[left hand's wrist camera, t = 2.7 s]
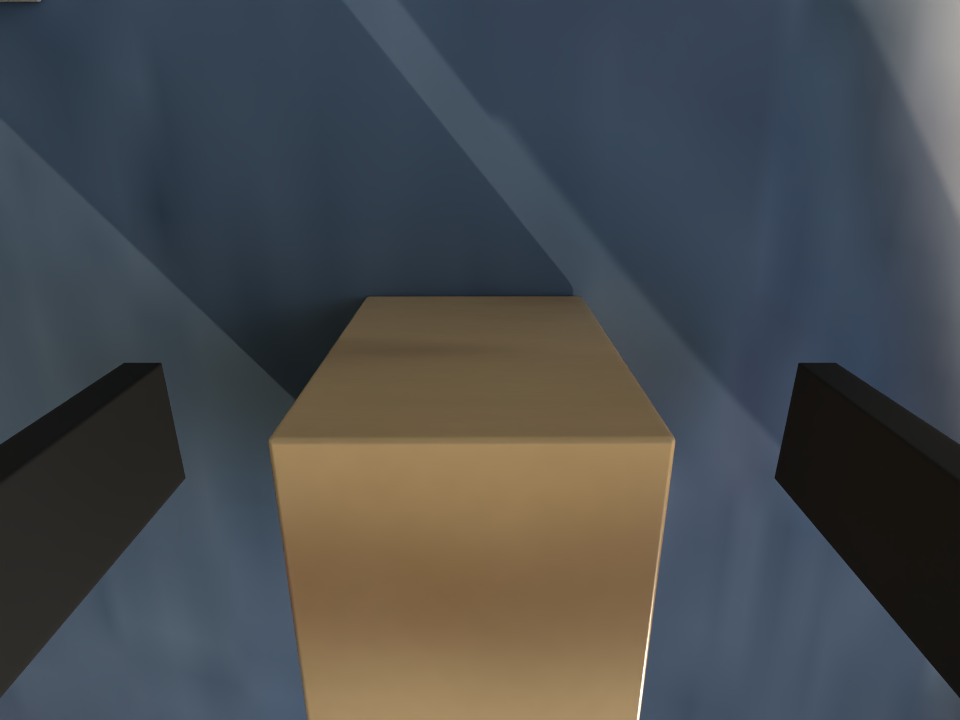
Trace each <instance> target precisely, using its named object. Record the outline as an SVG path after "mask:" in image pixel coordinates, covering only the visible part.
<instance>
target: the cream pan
mask: <svg viewBox="0 0 960 720" xmlns="http://www.w3.org/2000/svg"><path fill="white" fill-rule="evenodd" d="M39 1H41V0H0V2H39Z"/></svg>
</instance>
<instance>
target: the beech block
mask: <svg viewBox="0 0 960 720" xmlns="http://www.w3.org/2000/svg"><path fill="white" fill-rule="evenodd" d="M268 443H269V450H270V457H271V464H272V472H273V479H274V486H275V493H276V500H277V507H278V514H279V522H280V529H281V536H282V543H283V550H284V557H285V564H286V572H287V579H288V586H289V593H290V600H291V607H292V614H293V622H294V629H295V636H296V643H297V650H298V657H299V664H300V672H301V679H302V686H303V693H304V700H305V707H306V714H307V720H639V719H640V711H641V703H642V696H643V688H644V680H645V672H646V665H647V657H648V649H649V641H650V634H651V626H652V618H653V610H654V603H655V595H656V587H657V579H658V572H659V564H660V556H661V548H662V541H663V533H664V525H665V517H666V510H667V502H668V494H669V486H670V479H671V471H672V463H673V455H674V448H675V439H674V436H673V435H672V433H671V432H670V430H669V429H668V427H667V426H666V424H665V423H664V421H663V420H662V418H661V417H660V415H659V414H658V412H657V411H656V409H655V408H654V406H653V405H652V403H651V401H650V400H649V398H648V397H647V395H646V394H645V392H644V391H643V389H642V388H641V386H640V385H639V383H638V382H637V380H636V379H635V377H634V376H633V374H632V373H631V371H630V370H629V368H628V367H627V365H626V364H625V362H624V361H623V359H622V358H621V356H620V354H619V353H618V351H617V350H616V348H615V347H614V345H613V344H612V342H611V341H610V339H609V338H608V336H607V335H606V333H605V332H604V330H603V329H602V327H601V326H600V324H599V323H598V321H597V320H596V318H595V317H594V315H593V314H592V312H591V310H590V309H589V307H588V306H587V304H586V303H585V301H584V300H583V298H582V297H580V296H395V297H367V298H366V299H365V301H364V302H363V303H362V305H361V306H360V308H359V309H358V311H357V312H356V314H355V315H354V317H353V318H352V319H351V321H350V322H349V324H348V325H347V327H346V328H345V330H344V331H343V332H342V334H341V335H340V337H339V338H338V340H337V341H336V343H335V344H334V346H333V347H332V348H331V350H330V351H329V353H328V354H327V356H326V357H325V359H324V360H323V362H322V363H321V364H320V366H319V367H318V369H317V370H316V372H315V373H314V375H313V376H312V377H311V379H310V380H309V382H308V383H307V385H306V386H305V388H304V389H303V391H302V392H301V393H300V395H299V396H298V398H297V399H296V401H295V402H294V404H293V405H292V407H291V408H290V409H289V411H288V412H287V414H286V415H285V417H284V418H283V420H282V421H281V422H280V424H279V425H278V427H277V428H276V430H275V431H274V433H273V434H272V436H271V437H270V439H269V442H268Z"/></svg>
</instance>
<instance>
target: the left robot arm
mask: <svg viewBox="0 0 960 720" xmlns="http://www.w3.org/2000/svg"><path fill="white" fill-rule="evenodd" d="M184 479H185V474H184V469H183V464H182V460H181V455H180V450H179V445H178V440H177V436H176V431H175V426H174V421H173V416H172V412H171V407H170V402H169V397H168V392H167V388H166V383H165V378H164V373H163V369H162V364H161V363H123V364H122V365H120V366H119V367H117V368H116V369H114V370H113V371H111V372H110V373H108V374H107V375H105V376H104V377H102V378H101V379H99V380H98V381H96V382H95V383H93V384H91V385H90V386H88V387H87V388H85V389H84V390H82V391H81V392H79V393H78V394H76V395H75V396H73V397H72V398H70V399H69V400H67V401H66V402H64V403H63V404H61V405H60V406H58V407H57V408H55V409H54V410H52V411H51V412H49V413H48V414H46V415H44V416H43V417H41V418H40V419H38V420H37V421H35V422H34V423H32V424H31V425H29V426H28V427H26V428H25V429H23V430H22V431H20V432H19V433H17V434H16V435H14V436H13V437H11V438H10V439H8V440H7V441H5V442H4V443H2V444H1V445H0V698H1V696H2V695H3V694H4V693H5V692H6V690H7V689H8V688H9V687H10V686H11V685H12V683H13V682H14V681H15V680H16V679H17V677H18V676H19V675H20V674H21V673H22V671H23V670H24V669H25V668H26V667H27V666H28V664H29V663H30V662H31V661H32V660H33V658H34V657H35V656H36V655H37V654H38V652H39V651H40V650H41V649H42V648H43V647H44V645H45V644H46V643H47V642H48V641H49V639H50V638H51V637H52V636H53V635H54V633H55V632H56V631H57V630H58V629H59V628H60V626H61V625H62V624H63V623H64V622H65V620H66V619H67V618H68V617H69V616H70V614H71V613H72V612H73V611H74V610H75V609H76V607H77V606H78V605H79V604H80V603H81V601H82V600H83V599H84V598H85V597H86V595H87V594H88V593H89V592H90V591H91V590H92V588H93V587H94V586H95V585H96V584H97V582H98V581H99V580H100V579H101V578H102V576H103V575H104V574H105V573H106V572H107V571H108V569H109V568H110V567H111V566H112V565H113V563H114V562H115V561H116V560H117V559H118V557H119V556H120V555H121V554H122V553H123V552H124V550H125V549H126V548H127V547H128V546H129V544H130V543H131V542H132V541H133V540H134V538H135V537H136V536H137V535H138V534H139V533H140V531H141V530H142V529H143V528H144V527H145V525H146V524H147V523H148V522H149V521H150V519H151V518H152V517H153V516H154V515H155V514H156V512H157V511H158V510H159V509H160V508H161V506H162V505H163V504H164V503H165V502H166V501H167V499H168V498H169V497H170V496H171V495H172V493H173V492H174V491H175V490H176V489H177V487H178V486H179V485H180V484H181V483H182V482H183V480H184ZM775 479H776V480H777V482H778V483H779V484H780V485H781V486H782V487H783V489H784V490H785V491H786V492H787V493H788V495H789V496H790V497H791V498H792V499H793V501H794V502H795V503H796V504H797V505H798V506H799V508H800V509H801V510H802V511H803V512H804V514H805V515H806V516H807V517H808V518H809V519H810V521H811V522H812V523H813V524H814V525H815V527H816V528H817V529H818V530H819V531H820V533H821V534H822V535H823V536H824V537H825V538H826V540H827V541H828V542H829V543H830V544H831V546H832V547H833V548H834V549H835V550H836V552H837V553H838V554H839V555H840V556H841V557H842V559H843V560H844V561H845V562H846V563H847V565H848V566H849V567H850V568H851V569H852V571H853V572H854V573H855V574H856V575H857V576H858V578H859V579H860V580H861V581H862V582H863V584H864V585H865V586H866V587H867V588H868V590H869V591H870V592H871V593H872V594H873V595H874V597H875V598H876V599H877V600H878V601H879V603H880V604H881V605H882V606H883V607H884V609H885V610H886V611H887V612H888V613H889V614H890V616H891V617H892V618H893V619H894V620H895V622H896V623H897V624H898V625H899V626H900V628H901V629H902V630H903V631H904V632H905V633H906V635H907V636H908V637H909V638H910V639H911V641H912V642H913V643H914V644H915V645H916V647H917V648H918V649H919V650H920V651H921V652H922V654H923V655H924V656H925V657H926V658H927V660H928V661H929V662H930V663H931V664H932V666H933V667H934V668H935V669H936V670H937V671H938V673H939V674H940V675H941V676H942V677H943V679H944V680H945V681H946V682H947V683H948V685H949V686H950V687H951V688H952V689H953V690H954V692H955V693H956V694H957V695H958V696H959V698H960V445H959V444H958V443H956V442H955V441H953V440H952V439H950V438H949V437H947V436H946V435H944V434H943V433H941V432H940V431H938V430H937V429H935V428H934V427H932V426H931V425H929V424H928V423H926V422H925V421H923V420H922V419H920V418H919V417H917V416H916V415H914V414H912V413H911V412H909V411H908V410H906V409H905V408H903V407H902V406H900V405H899V404H897V403H896V402H894V401H893V400H891V399H890V398H888V397H887V396H885V395H884V394H882V393H881V392H879V391H878V390H876V389H875V388H873V387H872V386H870V385H869V384H867V383H865V382H864V381H862V380H861V379H859V378H858V377H856V376H855V375H853V374H852V373H850V372H849V371H847V370H846V369H844V368H843V367H841V366H840V365H838V364H837V363H799V364H798V369H797V373H796V378H795V383H794V388H793V392H792V397H791V402H790V407H789V412H788V416H787V421H786V426H785V431H784V436H783V440H782V445H781V450H780V455H779V460H778V464H777V469H776V474H775Z"/></svg>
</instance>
